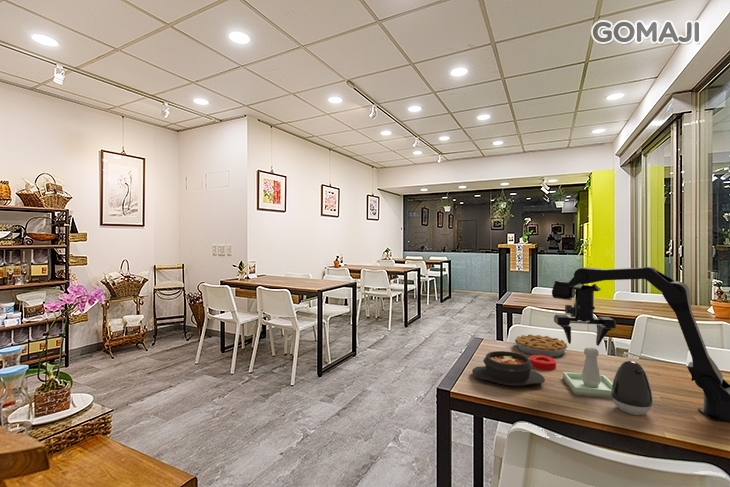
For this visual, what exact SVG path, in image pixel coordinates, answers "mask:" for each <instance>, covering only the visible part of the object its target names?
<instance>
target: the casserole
mask: <svg viewBox="0 0 730 487" xmlns="http://www.w3.org/2000/svg"><path fill="white" fill-rule="evenodd" d="M483 363H484V365H485V366H484V365H483V366H475V367H474V368H472V371H471V372H472V374H473V376H474V377H475V378H477V379H479V380H482V381H483V380H484V381H489V382H493V383H497V384H500V385H503V386H511V387H516V386H517V387H518V386H527V385H528V386H529V385H540V384H543V383H545V379H546V378H545V377H544V376H543V375H542V374H541V373H539V372H538V371H536V370H533V368H534V367H533V366H532V364H531V363H530V358H528V357H527V356H526V355H523V354H521V353H516V352H512V351H508V350H507V351H503V350H498V351H497V350H495V351H489V352H488V353H486V354H485V357H484V358H483Z"/></svg>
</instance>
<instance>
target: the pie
mask: <svg viewBox="0 0 730 487" xmlns="http://www.w3.org/2000/svg"><path fill="white" fill-rule="evenodd" d="M514 342H515V344H516V346H517V347H518V350H519V351H521V350H522V351H521V352H523V353H527V354H530V355H532V356H533V355H544V356H548V357H551V358H553V357H554V356H555V357H559V356H562V355H563V354H564V352H565V351H566V350H567V348H569V346H568V344H567V343H566V342H565V341H564V340H563V339H560V340H559V338H554V337H550V336H548V335H545V336H542V335H540V334H539V335H534V334H527V335H524V334H523V335H520V336H517V337H516V338H515V340H514Z"/></svg>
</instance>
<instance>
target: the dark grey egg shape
mask: <svg viewBox="0 0 730 487" xmlns="http://www.w3.org/2000/svg"><path fill="white" fill-rule="evenodd" d="M613 377H614V378H613V381H612V383H613V384H612V389H611V396H612V397H613V398H612V400H613V402H614V405H615V406H616V407H617V408H618V409H620V410H621V411H622V412H624V413H627V414H629V415H634V416H641V415H642V416H643V415H645V414H647V413H648V412H650V410H651V409H652V406H653V405H654V398H653V391H652V387H651V384H650V380H649V378H648V375H647V373H646V371H645V370H644V367H643V366H642V365H641V364H640V363H638V362H636V361H634V360H626V361H624V362H622V363H621V365H619V367H618V368H617V370H616V372H615V375H614V376H613Z"/></svg>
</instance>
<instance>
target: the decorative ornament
mask: <svg viewBox="0 0 730 487" xmlns="http://www.w3.org/2000/svg"><path fill="white" fill-rule="evenodd" d="M529 360H530V363H531V364H532V366H533V368H534V369H537V370H542V371H553V370H554V371H555V370H556V369H557V361H556V359H555V358H553V357H548V356H544V355H533V354H532V355H530V357H529Z"/></svg>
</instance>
